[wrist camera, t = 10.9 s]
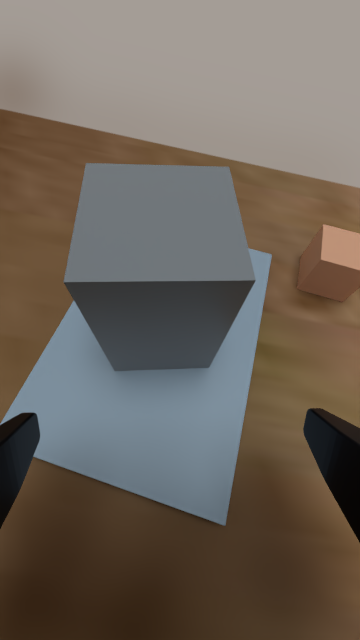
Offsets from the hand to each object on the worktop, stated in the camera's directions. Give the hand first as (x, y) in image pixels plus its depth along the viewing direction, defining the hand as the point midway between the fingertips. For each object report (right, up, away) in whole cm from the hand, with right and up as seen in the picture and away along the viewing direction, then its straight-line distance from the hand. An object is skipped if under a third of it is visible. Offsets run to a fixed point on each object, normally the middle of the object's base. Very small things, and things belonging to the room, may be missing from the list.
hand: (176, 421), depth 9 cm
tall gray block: (-1, +3, +10) cm, 11 cm away
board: (-1, +2, +11) cm, 12 cm away
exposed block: (+13, +7, +15) cm, 21 cm away
